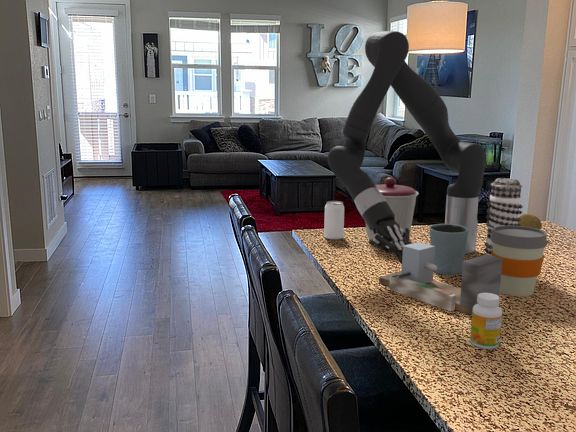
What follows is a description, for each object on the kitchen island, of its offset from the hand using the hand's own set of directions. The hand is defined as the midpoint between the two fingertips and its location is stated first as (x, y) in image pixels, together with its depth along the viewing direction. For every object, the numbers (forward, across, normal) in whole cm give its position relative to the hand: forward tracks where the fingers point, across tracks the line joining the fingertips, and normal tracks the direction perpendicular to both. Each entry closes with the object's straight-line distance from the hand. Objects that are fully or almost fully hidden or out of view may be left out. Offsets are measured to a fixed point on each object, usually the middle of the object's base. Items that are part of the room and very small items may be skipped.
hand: (408, 264), depth 141 cm
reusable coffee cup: (+17, +18, -9) cm, 27 cm away
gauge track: (+10, 0, -2) cm, 10 cm away
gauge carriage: (+6, -2, -1) cm, 6 cm away
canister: (-19, +29, +27) cm, 44 cm away
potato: (-1, +71, +9) cm, 72 cm away
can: (-29, +18, +37) cm, 50 cm away
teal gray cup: (+3, +18, +5) cm, 19 cm away
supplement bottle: (+26, -15, -18) cm, 36 cm away
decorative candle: (+9, +31, -1) cm, 32 cm away
